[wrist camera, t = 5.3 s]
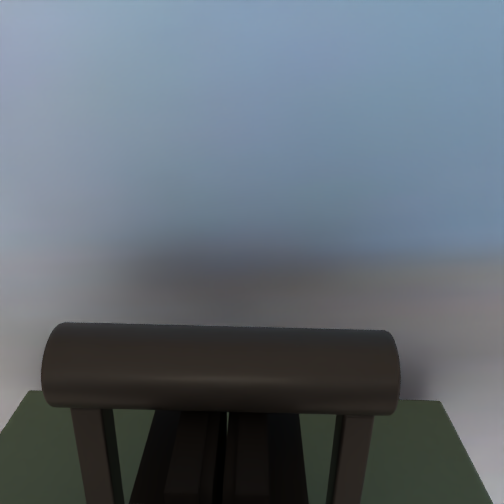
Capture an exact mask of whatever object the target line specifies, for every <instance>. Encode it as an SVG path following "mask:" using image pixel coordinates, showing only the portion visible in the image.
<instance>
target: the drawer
mask: <svg viewBox="0 0 504 504" xmlns="http://www.w3.org/2000/svg"><path fill="white" fill-rule="evenodd" d="M41 384H42V391H33V390H31V391H29V392H28V393H27V394H26V396H25V397H24V399H23V400H22V402H21V403H20V405H19V406H18V408H17V409H16V411H15V412H14V414H13V415H12V417H11V418H10V420H9V421H8V423H7V424H6V426H5V427H4V429H3V430H2V432H1V433H0V504H129V500H130V497H131V493H132V490H133V486H134V483H135V479H136V476H137V472H138V469H139V465H140V462H141V458H142V455H143V451H144V448H145V444H146V441H147V437H148V434H149V430H150V427H151V423H152V420H153V416H154V413H155V410H174V411H214V412H227V431H228V419H229V412H253V413H293V414H299V418H300V427H301V436H302V445H303V455H304V464H305V473H306V482H307V492H308V501H309V504H493V502H492V500H491V498H490V496H489V494H488V492H487V491H486V489H485V487H484V485H483V483H482V481H481V479H480V477H479V475H478V473H477V471H476V469H475V467H474V465H473V463H472V461H471V459H470V457H469V455H468V453H467V452H466V450H465V448H464V446H463V444H462V442H461V440H460V438H459V436H458V434H457V432H456V430H455V428H454V426H453V424H452V422H451V420H450V418H449V416H448V415H447V413H446V411H445V409H444V407H443V405H442V403H441V402H440V401H429V400H399V395H400V384H401V375H400V362H399V356H398V351H397V347H396V344H395V341H394V339H393V337H392V335H391V334H390V333H389V332H387V331H385V330H354V329H314V328H274V327H234V326H194V325H153V324H113V323H73V322H64V323H61V324H59V325H57V326H56V327H55V328H54V330H53V331H52V333H51V335H50V337H49V339H48V341H47V344H46V347H45V351H44V355H43V360H42V368H41ZM222 504H223V503H222Z"/></svg>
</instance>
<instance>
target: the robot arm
mask: <svg viewBox="0 0 504 504" xmlns="http://www.w3.org/2000/svg"><path fill="white" fill-rule="evenodd" d="M222 503H223V504H309V501H308V492H307V482H306V473H305V464H304V455H303V445H302V436H301V427H300V418H299V414H293V413H253V412H229V419H228V431H227V412H214V411H174V410H155V413H154V416H153V420H152V423H151V427H150V430H149V434H148V437H147V441H146V444H145V448H144V451H143V455H142V458H141V462H140V465H139V469H138V472H137V476H136V479H135V483H134V486H133V490H132V493H131V497H130V500H129V504H222Z"/></svg>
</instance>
